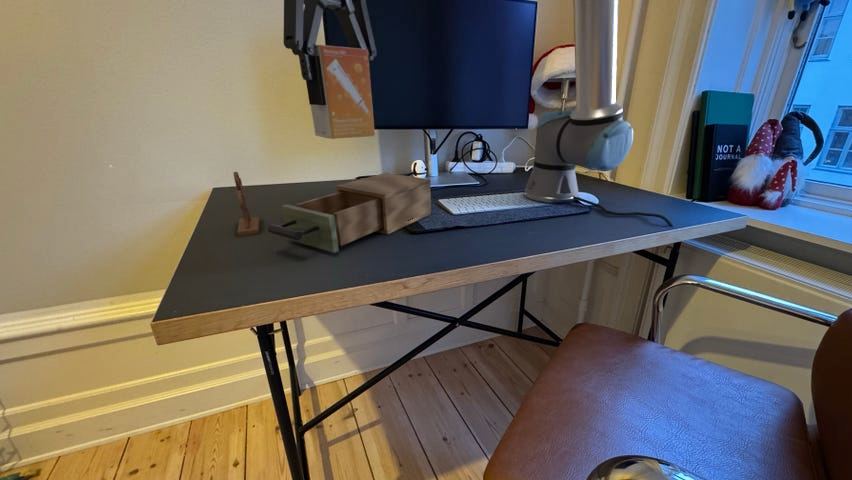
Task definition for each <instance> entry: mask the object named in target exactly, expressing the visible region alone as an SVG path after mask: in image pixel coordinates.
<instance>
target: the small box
mask: <svg viewBox="0 0 852 480" xmlns="http://www.w3.org/2000/svg"><path fill="white" fill-rule="evenodd" d="M367 49H368V48H367ZM367 49H360V48H350V47H348V46H347V47H346V46H335V45H326V44H325V45H324V44H316V45H315V49H314V53H313V54H312V56H319V58H320V66H321V73H322V80H323V87H324V95H325V102H326V105H310V111H311V117H312V123H313V128H314V135H315V136H316V137H320V138H324V139H331V140H337V139H349V138H350V139H351V138H363V137H364V138H365V137H366V138H367V137H375V136H376V135H375V134H376V132H375V122H374V121H375V119H374V109H373V108H374V107H373V96H372V85H371V71H370V62H369V61H370V60H368V50H367Z"/></svg>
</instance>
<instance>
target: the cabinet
mask: <svg viewBox="0 0 852 480" xmlns="http://www.w3.org/2000/svg"><path fill="white" fill-rule="evenodd" d="M335 188H336V190H335V191H336V193H337V192H341V191H349V192H354V193H359V194H364V195H370V196H375V197H380V198H382V206H383V218H384V228H381V229H379V230H377V231H374V232H376V233H379V234H384V235H390V234H392V233H394V232H396V231H398V230H400V229H402V228H404V227H406V226H409V225H411V224H413V223H415V222H418V221H419V220H421V219H423V218H425V217H428V216H430V215H432V196H431V192H432V191H431V190H432V188H431V179H430V178H424V177H418V176H410V175H403V174H397V173H390V172H383V173H379V174H375V175H372V176H368V177H363V178H359V179H356V180H352V181H347V182H344V183H341V184H337V185H335ZM412 218H413V219H412ZM410 219H411V220H410ZM408 220H409V221H408Z"/></svg>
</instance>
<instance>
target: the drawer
mask: <svg viewBox="0 0 852 480" xmlns="http://www.w3.org/2000/svg"><path fill="white" fill-rule="evenodd" d="M281 209H282V214H283V219H284V220H283V221H284V222H283V223H281V224H280V223H279V224H274V223H270V224H268V226H267V232H268V233H269V234H274V235H276V236H280V237H284V238H287V239H288V240H290V241H292V242H296V243H299V244H302V245H307V246H310V247H313V248H317V249H320V250H323V251H326V252H330V253H333V254H334V253H336V252H339V250H340V249H339V246H340V247H342V246H345V245H347V244H349V243H351V242H354V241H357V240H359V239H361V238H363V237H365V236H367V235H370V234H372V233H374V232H375V231H377V230H379V229H381V228H384V218H383V206H382V198H380V197H375V196H370V195H364V194H359V193H354V192H349V191H341V192H337V191H336V192H334V193H331V194H327V195H323V196H320V197H317V198H313V199H309V200H306V201H302V202H299V203H296V204H295V205H291V204H283V205H281Z"/></svg>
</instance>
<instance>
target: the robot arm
mask: <svg viewBox="0 0 852 480" xmlns="http://www.w3.org/2000/svg"><path fill="white" fill-rule="evenodd" d="M572 1H573V2H572V3H573V33H574V34H573V35H574V38H573V39H574V68H575V69H574V71H575V72H574V73H575V74H574V75H575V105H576V106H575V107H574V110H573V109H572V110H555V111H547V112H542V113H541V114H540V115H539V116H538V121H537V127H536V134H535V144H534V145H535V146H534V156H533V157H534V158H533V167H532V171H531V173H530V175H529V178H528V180H527V182H526V185H525V188H524V197H525V198H527V199H529V200H532V201H535V202H540V203H546V204H547V203H548V204H567V203H573V202H576V201H580V202H583V203H586V204H588V205H592V206H593V207H597V208H599V209H601V210H602V211H603V212H605V213H606V214H609V215H612V216H642V217H652V218H658V219H661V220H663V221H665V223H666V224H667V225H668V226H669V227H674V225H673V223H672V222H671V221H670V219H668V217H666V216H664V215H662V214H659V213H650V212H649V213H648V212H640V211H628V212H627V211H626V212H619V211H618V212H616V211H611V210H608V209H607V208H606V207H605V206H603V205H601V204H599V203H596V202H593V201H590V200H587V199H584V198H582V197H579V196H578V195H579V188H578V181H577V175H576V166H577V167H580V168H585V169H589V170H590V171H599V172H609V171H612V170H614V169H616V168H617V167H618V166H619V165H621V164H622V162H623V161H624V159H625V158H626V157H627V156H628V154H629V152H630V150H631V148H632V145H633V140H634V130H633V127H632V126H631V124H630V123H629V122H628V121H626V120H624V119H623V117H624V116H623V110H624V109H623V106H622V105H621V104H620V103H618V101H617V69H618V68H617V66H618V64H617V63H618V33H619V32H618V31H619V30H618V27H619V0H572ZM325 9H330V10H331V11H332V13H333V14H334V16H336V17H337V18H338V22H339V24H340V26H341V29H342V31H343V33H344V35H345V38H346V41H347V44H348V46H349V48H360V49H367V50H368V60H369V61H373V60H374V57H377V48H376V44H375V39H374V34H373V30H372V26H371V25H372V23H371V21H370V15H369V11H368V5H367V0H283V46H284V47H285V48H286V49H288V50H291V52H292V54H293V55H295V56H298V60H299V65H300V73H301V77H302V79H303V81H305V84H306V90H307V97H308V102H309V106H311V105H326V102H325V95H324V87H323V80H322V73H321V66H320V58H319V56H312V54H313V53H314V49H315V45H317V40H318V35H319V32H320V31H319V30H320V28H321V22H322V18H323V14H324V10H325ZM525 193H526V194H525Z"/></svg>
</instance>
